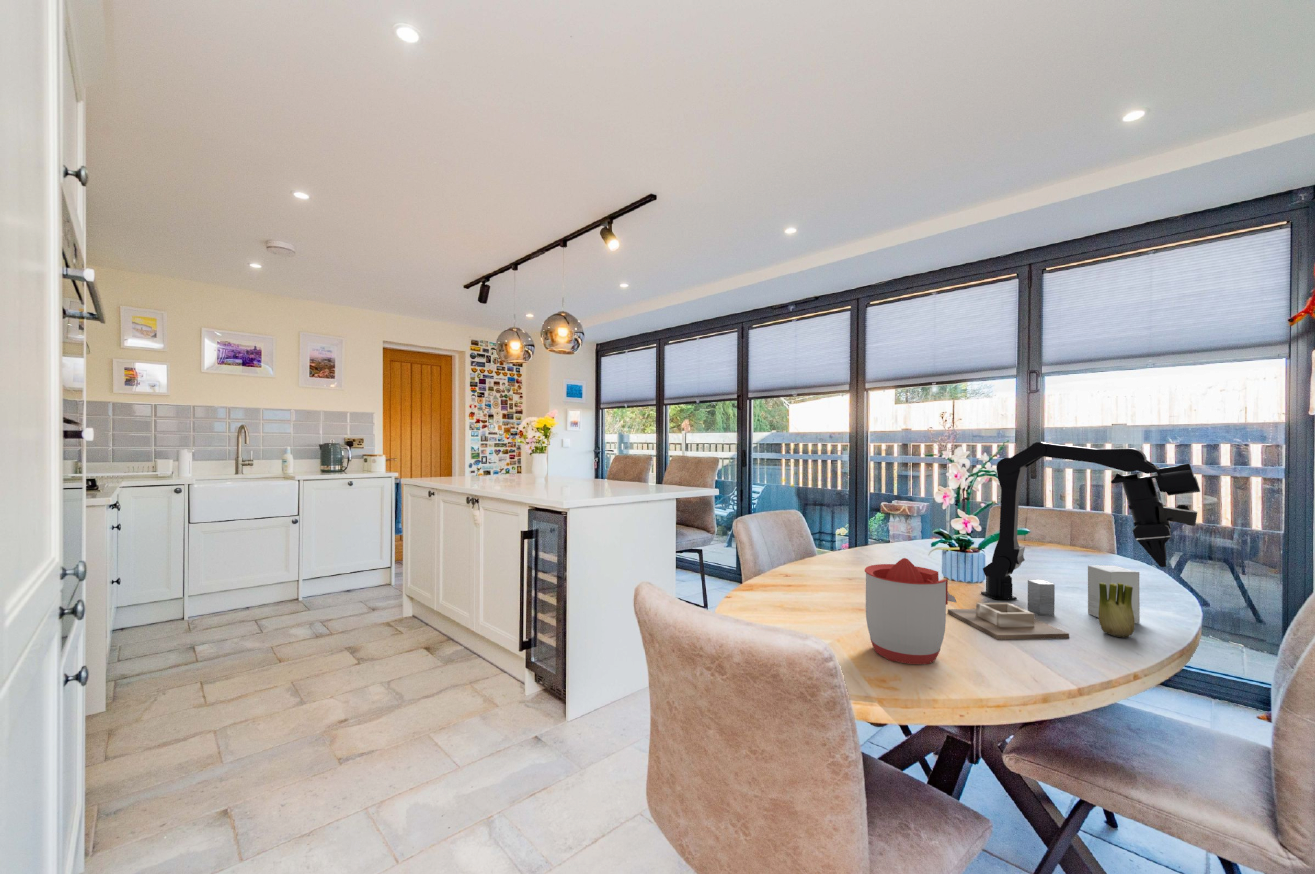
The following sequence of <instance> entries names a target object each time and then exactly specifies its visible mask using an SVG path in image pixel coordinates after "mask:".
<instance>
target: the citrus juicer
mask: <svg viewBox="0 0 1315 874" xmlns="http://www.w3.org/2000/svg"><path fill="white" fill-rule="evenodd" d="M864 572H865V618H866V625H867V629H868V633H869V638H870V639H869V640H870V641H871V645H872V647H873V649H874V651H875V652H876V654H878V655H880V656H881V657H883V658H885V659H886V660H887V661H891V662H897V663H903V664H910V665H929V664H931V663H933V662H935V661H936V660H937V657H938V656H939V654H940V651H941V647H942V644H943V641H944V637H945V633H946V623H947V620H946V618H947V613H946V611H947V605H949V604H948V603H949V602H951V603H952V602H953V603H957V599H956V598H955V595H952V594H950V592H949V591H948V586H949V585H948V578H944V579H939V577H940V576H939V571H937V570H934V569H931V568H928V567H927V568H926V567H922V566H917V565H916V566H915V565H914V564H913V563H912V561H911V560H909V559H908V558H906V557H903V558H901V559H900V560H898V561H897V562H896V563H894V564H892V563H891V564H890V563H884V564H883V563H882V564H881V563H880V564H879V563H878V564H873V565H872V564H871V565H868V566H866V567H865V568H864Z"/></svg>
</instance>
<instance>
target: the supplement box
mask: <svg viewBox="0 0 1315 874" xmlns="http://www.w3.org/2000/svg"><path fill="white" fill-rule="evenodd" d="M1099 583H1105V584H1106V588H1107V600H1108V598H1109V587H1110V584H1112V583H1113V584H1116V586H1117V590H1118V583H1121V584H1123V585H1124V586H1123V592H1124V587H1125V585H1129V586H1131V587H1133V590H1132V601H1131V602H1132V603H1131V604H1132V609H1133V614H1134V621H1135V624H1140V622H1141V621H1140V618H1141V617H1140V616H1141V615H1140V613H1141V612H1140V611H1141V610H1140V572H1139V571H1136V570H1133V569H1128V568H1125V567H1121V566H1118V565H1110V564H1109V565H1107V564H1105V565H1101V564H1100V565H1097V564H1096V565H1095V564H1093V565H1087V614H1088V615H1090V616H1093V617H1095V618H1098V619H1099V601H1100V588H1099ZM1116 599H1117V593H1116ZM1116 601H1117V600H1116Z"/></svg>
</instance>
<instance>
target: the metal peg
mask: <svg viewBox="0 0 1315 874" xmlns="http://www.w3.org/2000/svg"><path fill="white" fill-rule="evenodd" d="M1055 585H1056V584H1055V583H1052V582H1049V581H1046V580H1044V579H1028V580H1027V611H1030V612H1032V613H1035V615H1037V616H1039V617H1040V616H1042V617H1043V616H1045V617H1046V616H1055V590H1056V589H1055Z"/></svg>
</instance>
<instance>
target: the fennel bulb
mask: <svg viewBox="0 0 1315 874" xmlns="http://www.w3.org/2000/svg"><path fill="white" fill-rule="evenodd" d="M1123 586H1124V585H1123V584H1121V583H1118V590H1117V586H1116V584H1113V583H1112V584H1110V587H1109V598H1108V600H1107V588H1106V584H1105V583H1099V588H1100V601H1099V618H1098V621H1099V626H1100V628H1101V630H1102V632H1103V633H1106V634H1108V635H1110V636H1112V637H1116V638H1123V639H1127V638H1129V637H1130V636H1132V635H1133V633H1134V632H1135V625H1136V623H1135V621H1134V614H1133V609H1132V604H1131V603H1132V602H1131V601H1132V590H1133V587H1131V586H1129V585H1125V587H1124V592H1123ZM1116 593H1117V599H1116ZM1116 600H1117V601H1116Z"/></svg>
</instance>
